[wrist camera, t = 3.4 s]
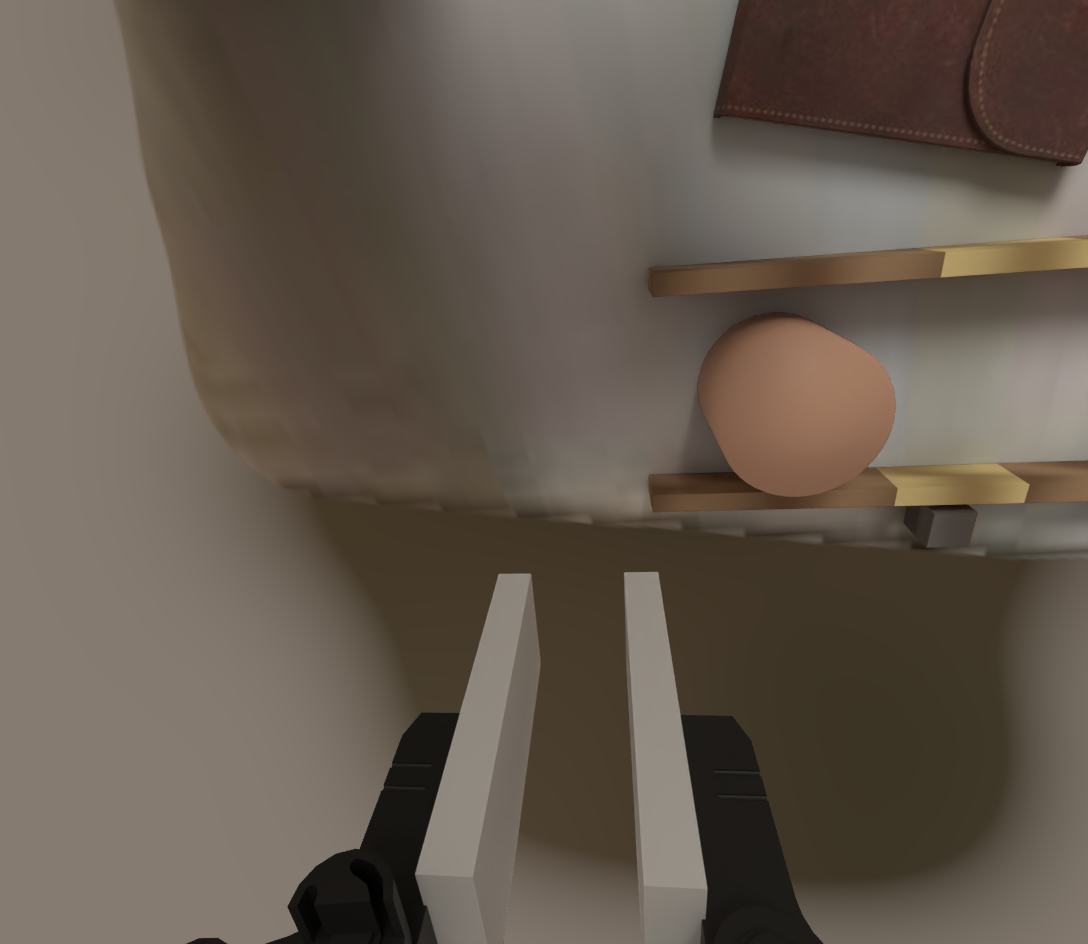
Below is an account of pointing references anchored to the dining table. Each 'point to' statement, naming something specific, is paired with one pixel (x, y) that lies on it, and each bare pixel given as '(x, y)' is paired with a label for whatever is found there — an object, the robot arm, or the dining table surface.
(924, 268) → the track
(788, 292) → the dining table surface
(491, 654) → the robot arm
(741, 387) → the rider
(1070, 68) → the notebook
